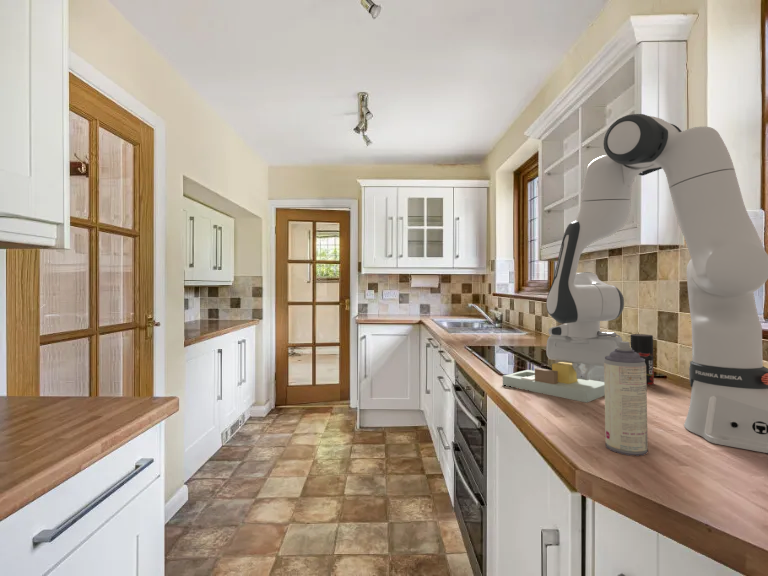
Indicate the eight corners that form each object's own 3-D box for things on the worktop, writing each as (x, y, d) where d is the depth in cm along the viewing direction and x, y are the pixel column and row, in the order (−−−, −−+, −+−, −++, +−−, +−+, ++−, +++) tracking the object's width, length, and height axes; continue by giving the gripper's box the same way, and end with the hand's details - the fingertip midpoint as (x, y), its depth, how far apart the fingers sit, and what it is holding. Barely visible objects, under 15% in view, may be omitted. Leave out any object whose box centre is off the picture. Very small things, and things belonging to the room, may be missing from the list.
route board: (609, 393, 115) (609, 370, 115) (586, 402, 106) (586, 377, 106) (527, 378, 135) (527, 359, 135) (502, 385, 127) (502, 364, 127)
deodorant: (635, 379, 131) (634, 333, 131) (656, 382, 127) (655, 335, 127) (628, 382, 127) (627, 335, 128) (649, 385, 123) (648, 336, 123)
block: (577, 381, 118) (577, 364, 118) (568, 383, 114) (568, 366, 115) (561, 378, 122) (560, 361, 122) (552, 381, 118) (552, 363, 118)
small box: (608, 382, 128) (607, 349, 128) (590, 382, 128) (589, 349, 128) (595, 377, 136) (594, 346, 136) (578, 377, 136) (578, 346, 136)
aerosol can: (634, 441, 79) (632, 339, 79) (656, 456, 72) (654, 344, 72) (598, 441, 79) (597, 339, 80) (616, 455, 73) (614, 344, 73)
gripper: (627, 332, 108) (627, 384, 108) (554, 327, 124) (555, 372, 124) (617, 334, 104) (617, 387, 104) (543, 328, 120) (543, 375, 120)
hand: (583, 379), depth 114 cm, fingers closed
